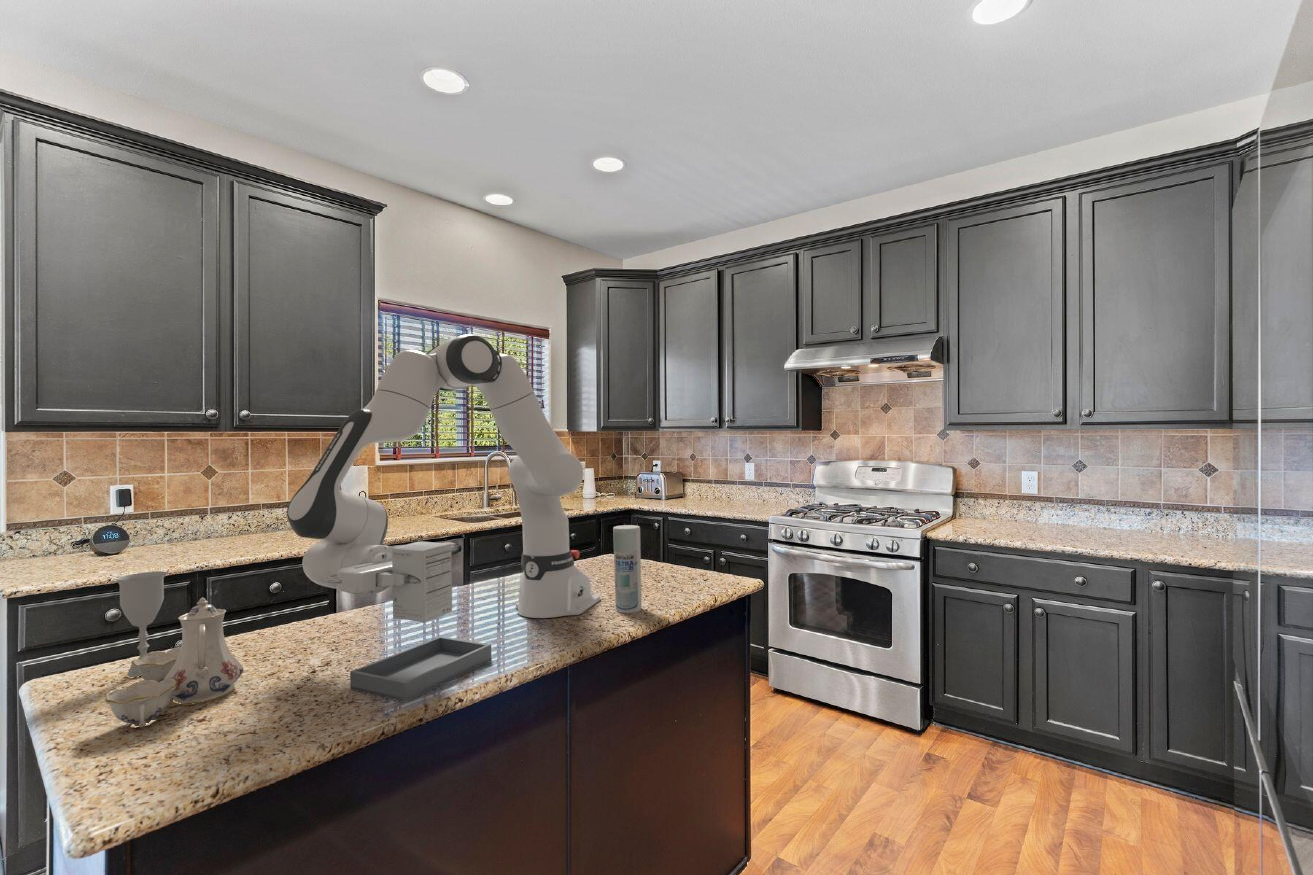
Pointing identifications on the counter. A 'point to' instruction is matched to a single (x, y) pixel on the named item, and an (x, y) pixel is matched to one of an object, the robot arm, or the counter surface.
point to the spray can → (627, 568)
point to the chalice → (141, 604)
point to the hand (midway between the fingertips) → (425, 574)
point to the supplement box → (422, 581)
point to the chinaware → (181, 670)
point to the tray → (419, 668)
